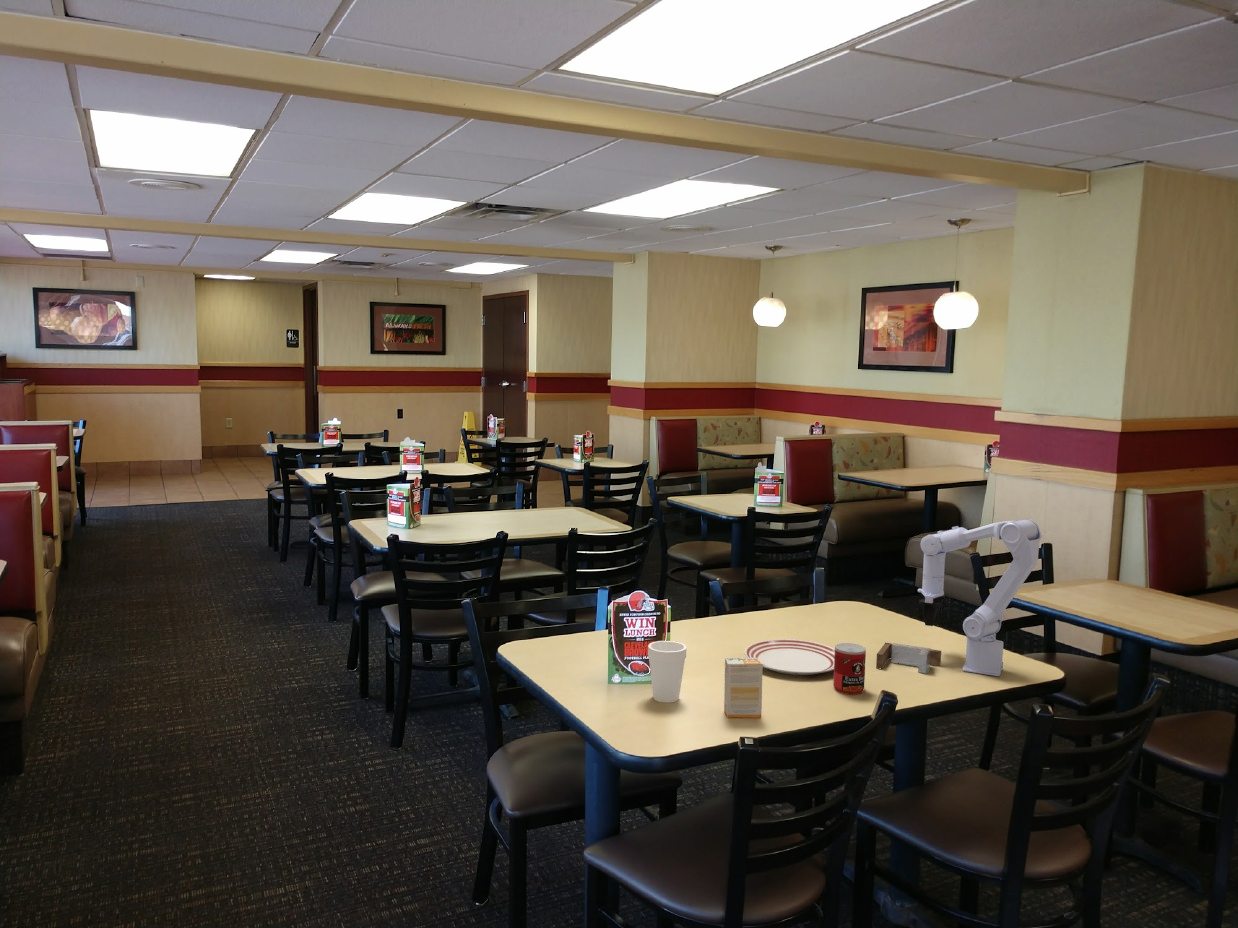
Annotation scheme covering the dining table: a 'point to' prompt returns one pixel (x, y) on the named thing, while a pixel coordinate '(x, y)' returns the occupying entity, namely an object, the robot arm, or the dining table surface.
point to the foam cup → (666, 669)
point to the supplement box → (743, 688)
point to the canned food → (849, 668)
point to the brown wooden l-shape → (887, 653)
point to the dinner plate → (793, 656)
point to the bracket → (911, 656)
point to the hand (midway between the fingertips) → (931, 622)
